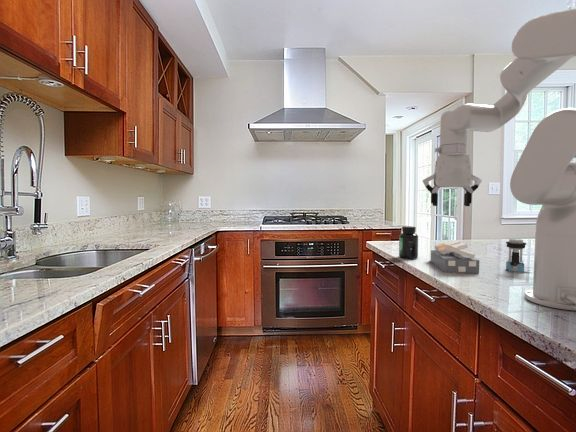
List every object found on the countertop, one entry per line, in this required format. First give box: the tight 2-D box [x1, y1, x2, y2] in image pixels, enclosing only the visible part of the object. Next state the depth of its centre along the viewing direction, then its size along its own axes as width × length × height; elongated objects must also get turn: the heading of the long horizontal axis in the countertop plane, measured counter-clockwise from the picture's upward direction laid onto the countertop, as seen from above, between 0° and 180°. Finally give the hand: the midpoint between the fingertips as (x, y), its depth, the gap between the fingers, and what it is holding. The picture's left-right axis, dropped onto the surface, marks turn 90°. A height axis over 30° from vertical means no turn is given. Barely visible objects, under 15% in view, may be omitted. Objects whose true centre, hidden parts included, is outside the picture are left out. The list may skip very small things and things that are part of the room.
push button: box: [505, 238, 531, 273], centre depth 106 cm, size 7×5×10 cm
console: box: [430, 249, 480, 274], centre depth 113 cm, size 18×10×5 cm, turn 170°
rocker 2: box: [439, 241, 469, 254], centre depth 113 cm, size 4×8×1 cm, turn 80°
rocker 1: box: [434, 239, 462, 251], centre depth 119 cm, size 4×8×1 cm, turn 80°
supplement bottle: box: [398, 225, 419, 260], centre depth 129 cm, size 7×7×12 cm
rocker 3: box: [445, 245, 476, 258], centre depth 107 cm, size 4×8×1 cm, turn 80°
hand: (450, 205), depth 107 cm, fingers open, 9 cm apart
